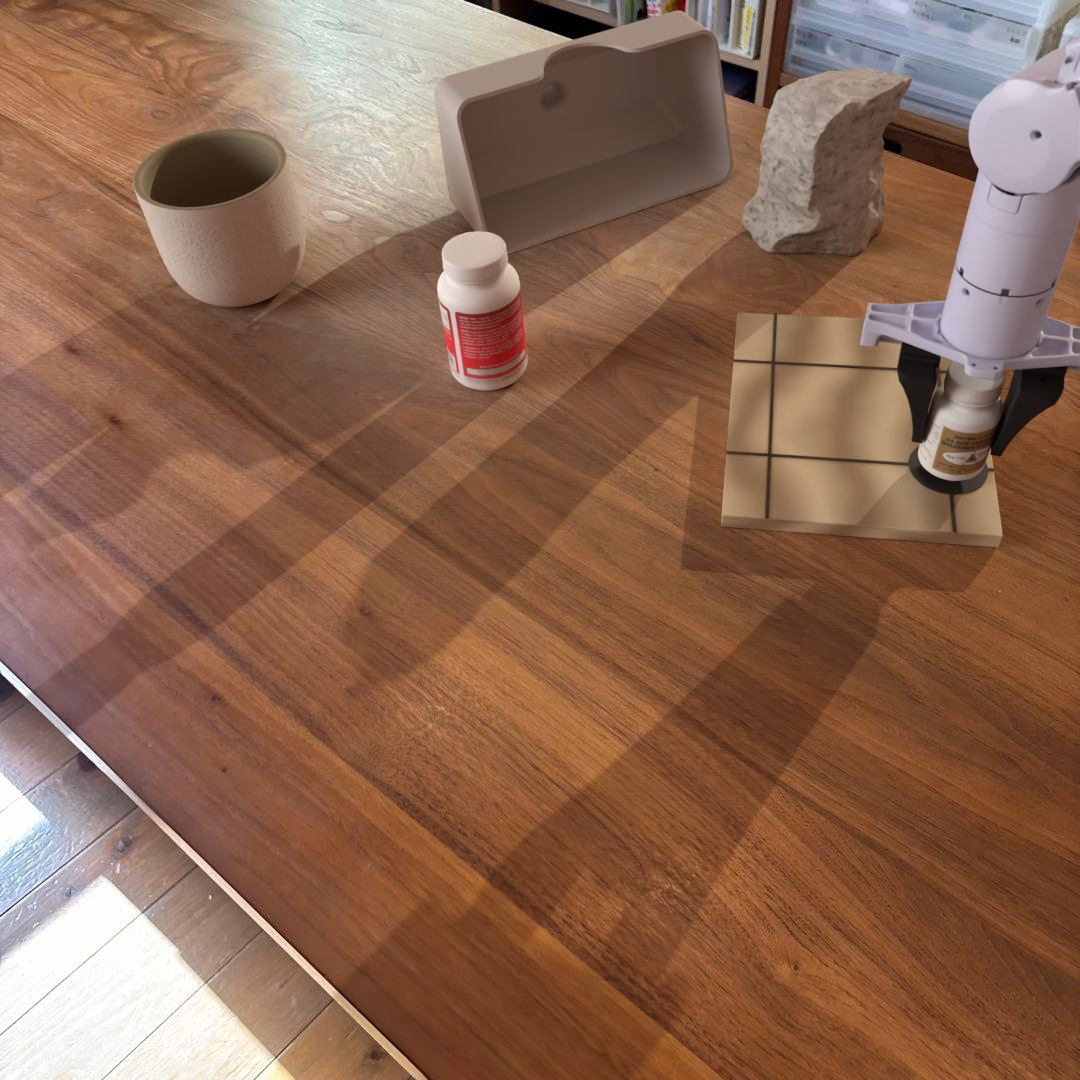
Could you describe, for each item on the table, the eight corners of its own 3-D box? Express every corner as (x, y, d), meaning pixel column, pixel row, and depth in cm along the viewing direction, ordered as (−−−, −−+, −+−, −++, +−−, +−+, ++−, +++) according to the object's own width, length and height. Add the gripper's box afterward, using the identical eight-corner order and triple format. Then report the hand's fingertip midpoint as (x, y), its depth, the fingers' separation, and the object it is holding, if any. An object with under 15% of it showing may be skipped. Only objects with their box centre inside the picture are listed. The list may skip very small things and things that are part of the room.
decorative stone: (824, 191, 101) (846, 31, 90) (895, 237, 96) (929, 73, 85) (734, 230, 98) (746, 69, 87) (803, 280, 93) (824, 115, 82)
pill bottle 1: (544, 362, 88) (534, 243, 80) (491, 404, 85) (476, 285, 77) (486, 333, 91) (471, 214, 82) (434, 372, 88) (413, 254, 80)
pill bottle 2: (936, 490, 74) (962, 402, 68) (905, 446, 76) (927, 358, 71) (997, 474, 74) (1027, 386, 68) (963, 431, 77) (990, 343, 71)
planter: (174, 334, 93) (129, 221, 85) (175, 252, 102) (135, 141, 93) (320, 308, 94) (290, 194, 86) (310, 228, 103) (282, 117, 94)
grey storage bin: (650, 106, 113) (651, -21, 104) (734, 178, 103) (744, 45, 94) (424, 176, 107) (403, 48, 98) (490, 260, 97) (474, 126, 88)
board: (969, 335, 87) (973, 322, 86) (998, 548, 72) (1003, 535, 71) (736, 324, 89) (737, 311, 88) (720, 527, 75) (721, 514, 74)
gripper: (868, 291, 63) (836, 460, 73) (1146, 328, 59) (1071, 501, 70) (884, 222, 67) (852, 391, 78) (1143, 253, 64) (1074, 426, 74)
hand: (956, 439), depth 74 cm, fingers closed on pill bottle 2, 4 cm apart
